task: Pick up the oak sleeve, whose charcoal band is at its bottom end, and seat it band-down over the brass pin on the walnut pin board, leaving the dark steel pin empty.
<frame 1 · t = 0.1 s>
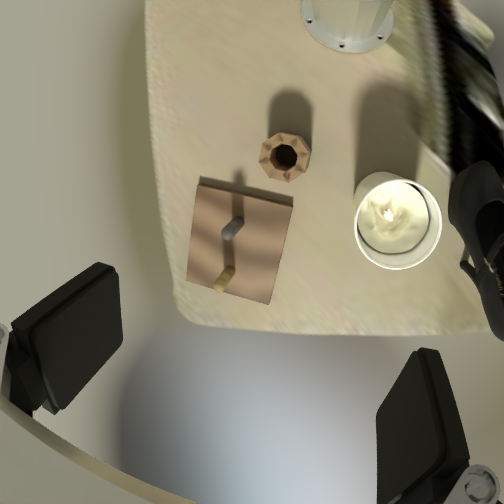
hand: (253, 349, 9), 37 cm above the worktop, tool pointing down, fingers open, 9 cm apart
high-heeled shoe: (461, 220, 39), on the worktop
sleeve: (289, 153, 42), on the worktop
pin board: (236, 244, 49), on the worktop
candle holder: (382, 200, 41), on the worktop
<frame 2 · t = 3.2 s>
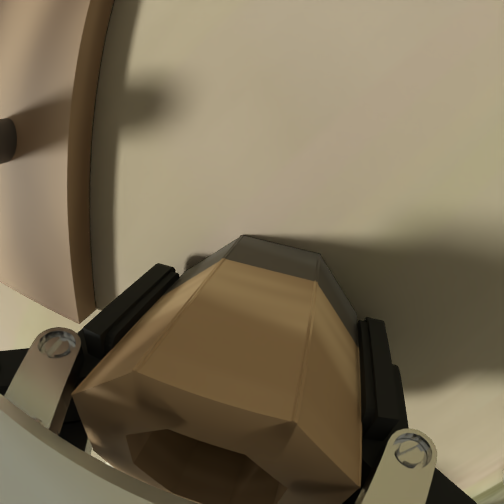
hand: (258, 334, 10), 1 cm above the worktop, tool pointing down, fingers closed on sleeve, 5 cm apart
sleeve: (263, 321, 10), on the worktop, touching gripper
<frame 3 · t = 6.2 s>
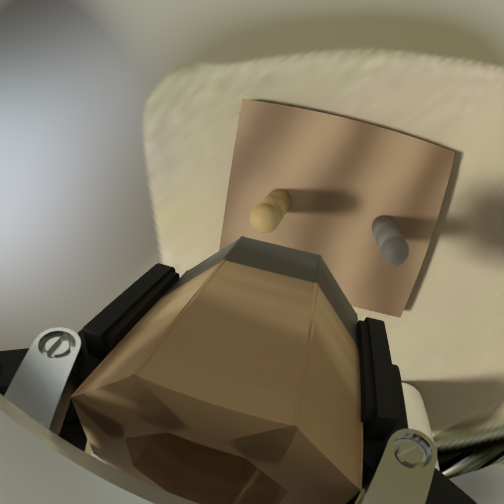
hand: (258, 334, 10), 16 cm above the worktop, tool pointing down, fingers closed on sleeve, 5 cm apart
sleeve: (264, 323, 10), point 16 cm above the worktop, touching gripper
pin board: (332, 209, 24), on the worktop
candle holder: (385, 405, 30), on the worktop
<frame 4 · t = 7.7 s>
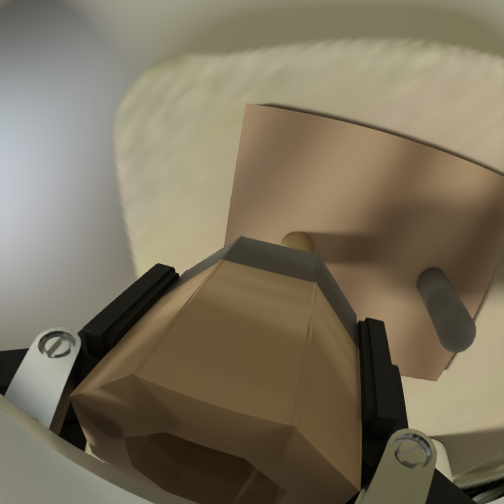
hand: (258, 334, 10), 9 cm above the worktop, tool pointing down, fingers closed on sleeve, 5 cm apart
sleeve: (263, 323, 10), point 9 cm above the worktop, touching gripper
pin board: (366, 257, 18), on the worktop
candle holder: (405, 458, 23), on the worktop
when the fingers open (4 cm above the worktop, at t = 9.1 s): sleeve drops 2 cm, resting on pin board.
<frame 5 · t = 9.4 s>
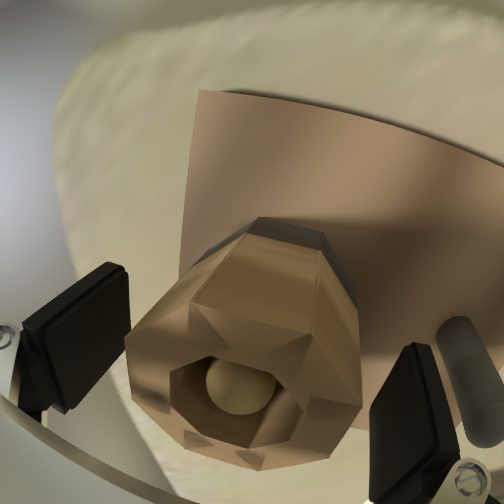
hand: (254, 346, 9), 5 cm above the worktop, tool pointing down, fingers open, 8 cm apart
sleeve: (275, 292, 12), point 1 cm above the worktop, touching pin board
pin board: (369, 300, 13), on the worktop
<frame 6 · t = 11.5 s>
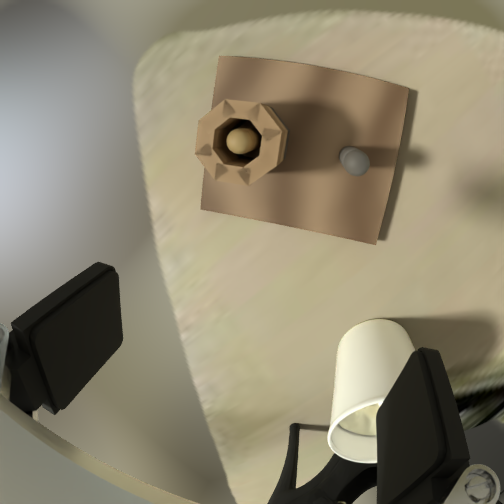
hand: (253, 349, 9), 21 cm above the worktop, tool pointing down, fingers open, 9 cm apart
high-heeled shoe: (345, 419, 37), on the worktop
sleeve: (254, 138, 25), point 1 cm above the worktop, touching pin board
pin board: (302, 145, 26), on the worktop
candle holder: (373, 347, 32), on the worktop
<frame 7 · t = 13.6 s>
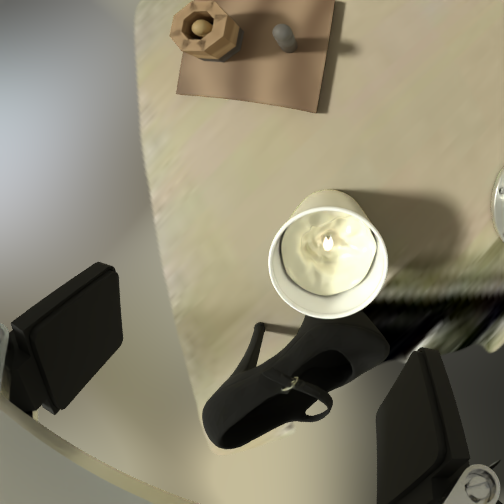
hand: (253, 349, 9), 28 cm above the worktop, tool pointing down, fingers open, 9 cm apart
high-heeled shoe: (311, 318, 41), on the worktop
sleeve: (218, 39, 29), point 1 cm above the worktop, touching pin board
pin board: (254, 44, 30), on the worktop
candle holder: (329, 224, 36), on the worktop
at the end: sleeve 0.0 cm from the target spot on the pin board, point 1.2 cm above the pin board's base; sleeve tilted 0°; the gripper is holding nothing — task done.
